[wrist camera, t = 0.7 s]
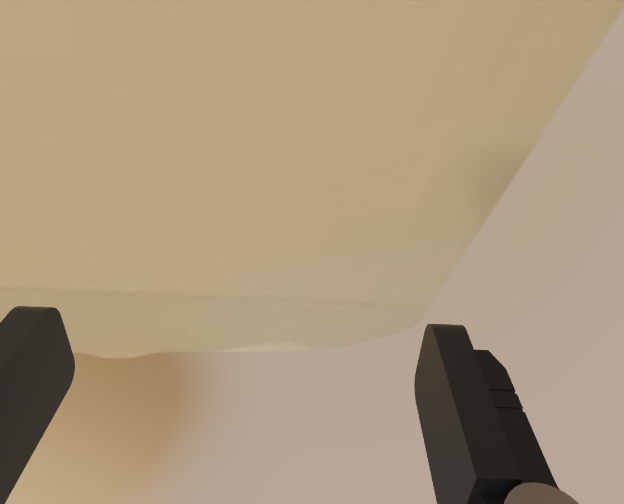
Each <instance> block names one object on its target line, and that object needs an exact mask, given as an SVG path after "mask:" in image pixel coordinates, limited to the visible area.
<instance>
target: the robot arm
mask: <svg viewBox="0 0 624 504" xmlns="http://www.w3.org/2000/svg"><path fill="white" fill-rule="evenodd" d="M74 370H75V362H74V356H73V353H72V350H71V347H70V343H69V340H68V337H67V334H66V331H65V327H64V324H63V321H62V318H61V315H60V313H59V311H58V310H57V309H56V308H53V307H28V306H17V307H15V308H13V309H12V310H11V311H10V312H9V313H8V314H7V316H6V317H5V318H4V319H3V320H2V322H1V323H0V504H5V502H6V500H7V498H8V497H9V495H10V493H11V491H12V489H13V488H14V486H15V484H16V482H17V481H18V479H19V477H20V475H21V473H22V472H23V470H24V468H25V466H26V464H27V463H28V461H29V459H30V457H31V456H32V454H33V452H34V450H35V448H36V447H37V445H38V443H39V441H40V439H41V438H42V436H43V434H44V432H45V430H46V428H47V427H48V425H49V423H50V422H51V420H52V418H53V416H54V414H55V413H56V411H57V409H58V407H59V406H60V404H61V402H62V400H63V398H64V397H65V395H66V393H67V391H68V389H69V388H70V385H71V383H72V380H73V376H74ZM415 398H416V404H417V409H418V414H419V419H420V423H421V428H422V433H423V438H424V443H425V447H426V452H427V457H428V462H429V466H430V471H431V476H432V481H433V486H434V491H435V495H436V500H437V504H579V503H578V502H576V501H575V500H574V499H573V498H572V497H571V496H569V495H567V494H566V493H564V492H563V491H561V490H560V489H559V488H558V486H557V484H556V482H555V481H554V478H553V476H552V474H551V472H550V469H549V467H548V465H547V462H546V460H545V458H544V456H543V453H542V451H541V449H540V446H539V444H538V442H537V439H536V437H535V435H534V432H533V430H532V428H531V426H530V423H529V421H528V419H527V416H526V414H525V412H523V410H522V408H523V407H522V405H521V403H520V400H519V398H518V396H517V394H515V389H514V387H513V384H512V382H511V380H510V377H509V375H508V373H507V370H506V369H505V368H504V366H503V365H502V364H501V363H500V362H499V361H498V360H497V359H496V358H495V357H494V356H493V355H492V354H491V353H490V352H489V351H488V350H474V349H473V346H472V344H471V341H470V339H469V336H468V334H467V331H466V328H465V327H464V326H463V325H444V324H428V325H427V326H426V329H425V333H424V337H423V342H422V346H421V351H420V355H419V360H418V364H417V369H416V374H415Z"/></svg>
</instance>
